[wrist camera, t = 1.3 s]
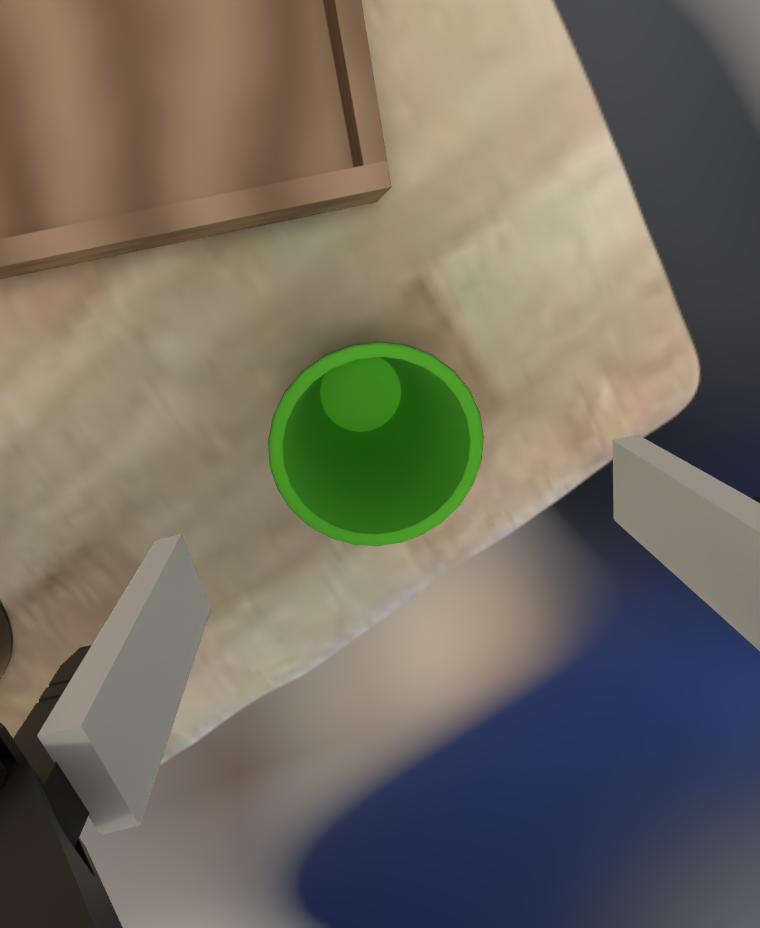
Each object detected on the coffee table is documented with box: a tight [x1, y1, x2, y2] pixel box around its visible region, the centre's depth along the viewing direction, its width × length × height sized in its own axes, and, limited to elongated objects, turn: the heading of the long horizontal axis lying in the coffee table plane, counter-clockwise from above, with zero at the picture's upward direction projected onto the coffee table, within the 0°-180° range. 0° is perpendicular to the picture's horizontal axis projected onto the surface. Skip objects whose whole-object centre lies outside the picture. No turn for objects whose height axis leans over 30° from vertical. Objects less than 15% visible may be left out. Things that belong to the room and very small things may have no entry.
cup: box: [268, 342, 484, 546], centre depth 26 cm, size 9×9×11 cm
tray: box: [0, 0, 391, 279], centre depth 22 cm, size 22×14×6 cm, turn 101°
